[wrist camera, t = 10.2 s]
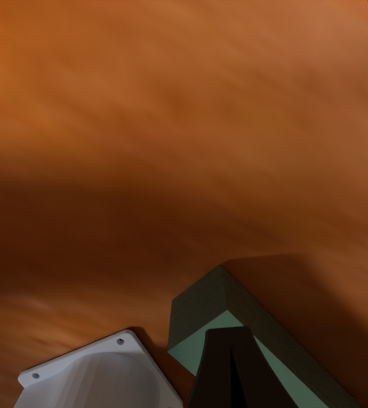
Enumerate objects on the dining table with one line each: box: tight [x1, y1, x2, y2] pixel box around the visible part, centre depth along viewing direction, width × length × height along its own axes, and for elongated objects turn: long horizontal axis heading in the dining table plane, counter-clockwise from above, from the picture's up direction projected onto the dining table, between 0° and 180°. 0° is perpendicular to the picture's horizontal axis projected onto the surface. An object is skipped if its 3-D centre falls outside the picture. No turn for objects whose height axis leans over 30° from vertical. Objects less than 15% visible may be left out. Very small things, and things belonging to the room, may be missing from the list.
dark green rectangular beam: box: [167, 264, 361, 408], centre depth 20 cm, size 16×4×5 cm, turn 42°
